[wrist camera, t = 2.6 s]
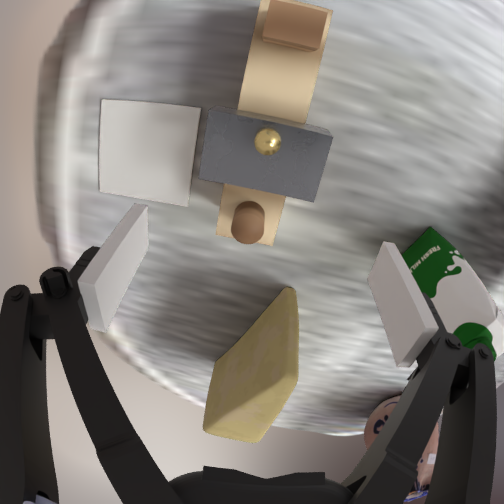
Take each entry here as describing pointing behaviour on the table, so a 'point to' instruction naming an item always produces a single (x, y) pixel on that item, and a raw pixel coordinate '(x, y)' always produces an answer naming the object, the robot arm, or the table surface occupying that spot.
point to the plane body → (274, 102)
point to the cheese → (256, 374)
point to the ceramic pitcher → (427, 458)
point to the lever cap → (264, 153)
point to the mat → (147, 150)
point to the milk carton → (456, 292)
